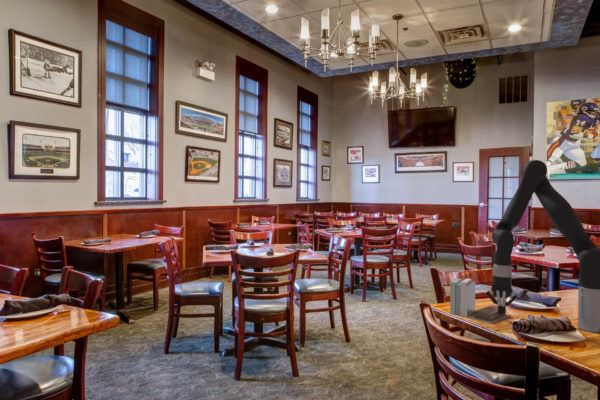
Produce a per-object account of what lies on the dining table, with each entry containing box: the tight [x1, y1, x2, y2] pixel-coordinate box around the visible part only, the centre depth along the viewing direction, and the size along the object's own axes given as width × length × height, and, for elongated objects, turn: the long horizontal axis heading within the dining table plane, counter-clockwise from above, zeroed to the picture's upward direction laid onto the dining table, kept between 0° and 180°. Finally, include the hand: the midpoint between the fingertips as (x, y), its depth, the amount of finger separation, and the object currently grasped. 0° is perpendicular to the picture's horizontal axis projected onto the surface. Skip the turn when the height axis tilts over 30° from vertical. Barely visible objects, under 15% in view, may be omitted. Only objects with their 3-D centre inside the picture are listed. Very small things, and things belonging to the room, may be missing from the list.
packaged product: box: [468, 304, 511, 324], centre depth 185 cm, size 18×5×10 cm
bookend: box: [450, 280, 476, 318], centre depth 192 cm, size 8×14×14 cm, turn 143°
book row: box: [449, 278, 473, 317], centre depth 192 cm, size 7×10×15 cm
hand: (501, 314), depth 181 cm, fingers closed
